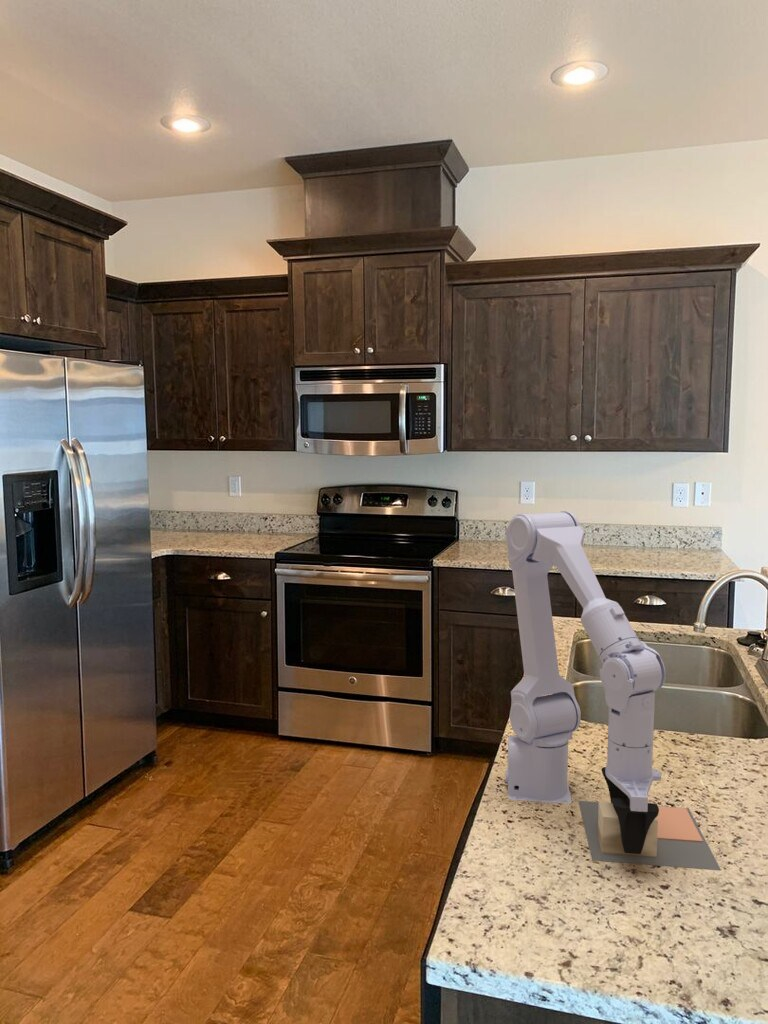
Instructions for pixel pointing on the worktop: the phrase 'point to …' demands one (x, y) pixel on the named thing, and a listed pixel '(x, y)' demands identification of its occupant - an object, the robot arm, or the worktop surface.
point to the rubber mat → (658, 840)
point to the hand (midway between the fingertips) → (627, 836)
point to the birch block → (612, 835)
